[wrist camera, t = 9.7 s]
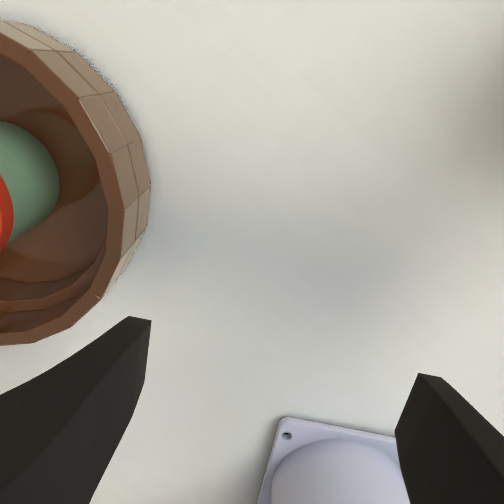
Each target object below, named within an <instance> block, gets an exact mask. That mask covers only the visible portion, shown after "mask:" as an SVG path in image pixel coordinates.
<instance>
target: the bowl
mask: <svg viewBox="0 0 504 504" xmlns="http://www.w3.org/2000/svg"><path fill="white" fill-rule="evenodd" d="M0 121H5V122H8V123H12V124H15V125H17V126H19V127H21V128H23V129H25V130H27V131H28V132H29V133H31V134H32V135H34V136H35V137H36V138H37V139H38V140H39V141H40V142H41V143H42V144H43V145H44V146H45V148H46V149H47V150H48V152H49V153H50V155H51V157H52V158H53V160H54V163H55V165H56V168H57V171H58V175H59V183H60V189H59V196H58V200H57V203H56V205H55V207H54V209H53V211H52V212H51V213H50V214H49V216H48V217H46V218H45V219H44V220H43V221H41V222H40V223H38V224H37V225H35V226H34V227H32V228H30V229H29V230H27V231H26V232H24V233H23V234H21V235H20V236H18V237H17V238H15V239H14V240H12V241H11V242H9V243H8V244H6V246H5V247H4V248H3V250H2V251H1V252H0V346H4V345H17V344H30V343H34V342H37V341H39V340H42V339H44V338H47V337H49V336H51V335H54V334H56V333H59V332H61V331H64V330H66V329H68V328H70V327H71V326H73V325H74V324H75V323H77V322H78V321H79V320H80V319H81V318H82V317H83V316H84V315H85V314H86V313H87V312H88V311H89V310H90V309H92V308H93V307H94V306H95V305H96V304H97V303H98V302H99V301H100V300H101V299H102V298H103V296H104V295H105V294H106V293H107V291H108V290H109V289H110V287H111V286H112V285H113V283H114V282H115V281H116V280H117V278H118V277H119V276H120V274H121V273H122V272H123V270H124V269H125V268H126V267H127V265H128V264H129V262H130V261H131V259H132V257H133V255H134V253H135V251H136V249H137V247H138V245H139V242H140V240H141V238H142V236H143V234H144V232H145V230H146V226H147V219H148V209H149V199H150V190H151V186H150V184H151V182H150V177H149V173H148V168H147V163H146V159H145V154H144V150H143V145H142V140H141V138H140V135H139V133H138V131H137V129H136V128H135V126H134V124H133V122H132V120H131V118H130V117H129V115H128V113H127V111H126V109H125V108H124V106H123V104H122V102H121V100H120V98H119V97H118V95H117V93H116V92H115V91H114V89H113V88H112V87H111V86H110V85H109V84H108V83H107V82H106V81H105V80H104V79H103V78H102V77H101V76H100V75H99V74H98V73H97V72H96V71H95V70H94V69H93V68H92V67H91V66H90V65H89V64H88V63H87V62H86V61H85V60H84V59H83V58H82V57H81V56H80V55H79V54H78V53H77V52H76V51H75V50H73V49H71V48H69V47H67V46H66V45H64V44H62V43H60V42H59V41H57V40H55V39H53V38H52V37H50V36H48V35H46V34H44V33H43V32H41V31H39V30H37V29H36V28H34V27H32V26H30V25H27V24H23V23H18V22H13V21H9V20H4V19H0Z"/></svg>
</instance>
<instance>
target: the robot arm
mask: <svg viewBox="0 0 504 504" xmlns="http://www.w3.org/2000/svg"><path fill="white" fill-rule="evenodd" d="M151 321H152V320H147V319H141V318H136V317H131V316H128V317H127V318H125V319H123V320H122V321H121V322H119V323H118V324H116V325H115V326H114V327H112V328H111V329H110V330H108V331H107V332H106V333H104V334H103V335H101V336H100V337H99V338H97V339H96V340H94V341H93V342H91V343H90V344H88V345H87V346H85V347H84V348H83V349H81V350H80V351H78V352H77V353H75V354H74V355H72V356H71V357H69V358H67V359H66V360H64V361H62V362H61V363H59V364H57V365H56V366H54V367H52V368H51V369H49V370H48V371H46V372H44V373H42V374H41V375H39V376H37V377H35V378H33V379H31V380H30V381H28V382H26V383H24V384H22V385H20V386H18V387H15V388H13V389H11V390H9V391H7V392H5V393H3V394H1V395H0V504H89V503H90V501H91V498H92V496H93V494H94V492H95V490H96V488H97V486H98V484H99V482H100V480H101V478H102V476H103V474H104V472H105V470H106V468H107V466H108V464H109V462H110V460H111V458H112V456H113V454H114V452H115V450H116V448H117V446H118V444H119V442H120V440H121V438H122V436H123V434H124V432H125V430H126V428H127V426H128V424H129V422H130V420H131V418H132V415H133V413H134V410H135V407H136V404H137V402H138V399H139V396H140V393H141V390H142V387H143V385H144V381H145V372H146V364H147V355H148V346H149V338H150V329H151ZM283 433H290V434H283ZM257 504H504V436H503V435H502V434H500V433H499V432H498V431H497V430H496V429H495V428H494V427H493V426H492V425H491V424H490V423H489V422H488V421H487V420H486V419H485V418H484V417H483V416H482V415H481V414H480V413H479V412H478V411H477V410H476V409H475V408H474V407H473V406H472V405H470V404H469V403H468V402H467V401H466V400H465V399H464V398H463V397H462V396H461V395H460V394H459V393H458V392H457V391H456V390H455V389H454V388H453V387H452V386H451V385H449V384H448V383H447V382H446V381H445V380H444V379H442V378H441V377H437V376H431V375H426V374H421V373H418V375H417V378H416V380H415V383H414V385H413V387H412V390H411V392H410V395H409V397H408V400H407V402H406V404H405V407H404V409H403V412H402V414H401V416H400V419H399V421H398V424H397V426H396V429H395V437H391V436H386V435H381V434H375V433H370V432H365V431H360V430H355V429H350V428H344V427H339V426H334V425H329V424H324V423H319V422H314V421H308V420H303V419H298V418H293V417H285V418H283V419H281V420H280V422H279V425H278V429H277V432H276V436H275V439H274V443H273V447H272V450H271V454H270V457H269V461H268V465H267V468H266V472H265V475H264V479H263V483H262V486H261V490H260V494H259V497H258V501H257Z"/></svg>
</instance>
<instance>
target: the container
mask: <svg viewBox="0 0 504 504" xmlns="http://www.w3.org/2000/svg"><path fill="white" fill-rule="evenodd" d="M59 189H60V183H59V175H58V171H57V168H56V165H55V163H54V160H53V158H52V157H51V155H50V153H49V152H48V150H47V149H46V148H45V146H44V145H43V144H42V143H41V142H40V141H39V140H38V139H37V138H36V137H35V136H34V135H32V134H31V133H29V132H28V131H27V130H25V129H23V128H21V127H19V126H17V125H15V124H12V123H8V122H5V121H0V252H1V251H2V250H3V248H4V247H5V246H6V244H8V243H9V242H11V241H12V240H14V239H15V238H17V237H18V236H20V235H21V234H23V233H24V232H26V231H27V230H29V229H30V228H32V227H34V226H35V225H37V224H38V223H40V222H41V221H43V220H44V219H45V218H46V217H48V216H49V214H50V213H51V212H52V211H53V209H54V207H55V205H56V203H57V200H58V196H59Z"/></svg>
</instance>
